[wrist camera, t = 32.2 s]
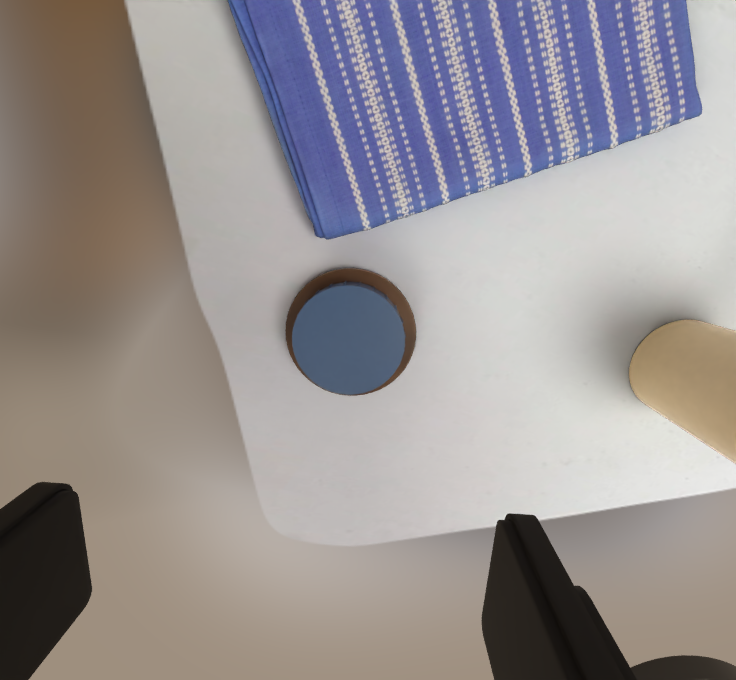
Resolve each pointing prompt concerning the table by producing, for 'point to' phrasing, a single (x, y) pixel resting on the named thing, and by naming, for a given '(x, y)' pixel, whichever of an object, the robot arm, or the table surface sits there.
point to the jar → (690, 380)
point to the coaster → (364, 278)
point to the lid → (349, 338)
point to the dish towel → (456, 93)
